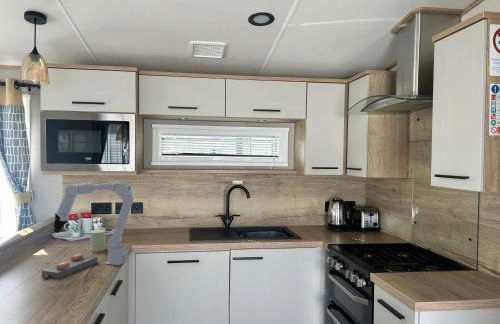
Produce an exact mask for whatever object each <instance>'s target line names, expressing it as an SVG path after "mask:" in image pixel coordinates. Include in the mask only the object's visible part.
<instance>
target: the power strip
mask: <svg viewBox="0 0 500 324" xmlns="http://www.w3.org/2000/svg"><path fill="white" fill-rule="evenodd" d="M65 262H70V266H68V267H65V268H63V269H58V268H57V264H56V265H53V266H51V267H46V268H44V269H42V270H41V277H42V276H43V278H42V279H43V280H46V279H57V280H58V279H61V278H63V277H65V276H67V275H71V274H72V273H75V272H78V271H80V270H82V269H85V268H88V267H90V266H93V265H94V264H97V263H98V256H91V255H83V258H81V259H78V260H71V259H68V260H67V261H65ZM92 264H93V265H92Z"/></svg>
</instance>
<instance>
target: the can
mask: <svg viewBox="0 0 500 324" xmlns="http://www.w3.org/2000/svg"><path fill="white" fill-rule="evenodd" d="M106 231H107V230H105V229H94V230H91V231H90V232H89V245H90V246H89V251H90V252H94V253H96V252H97V253H98V252H103V251H105V250H106V249H107V242H106V239H107V238H106V235H107V234H106V233H107V232H106Z"/></svg>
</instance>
